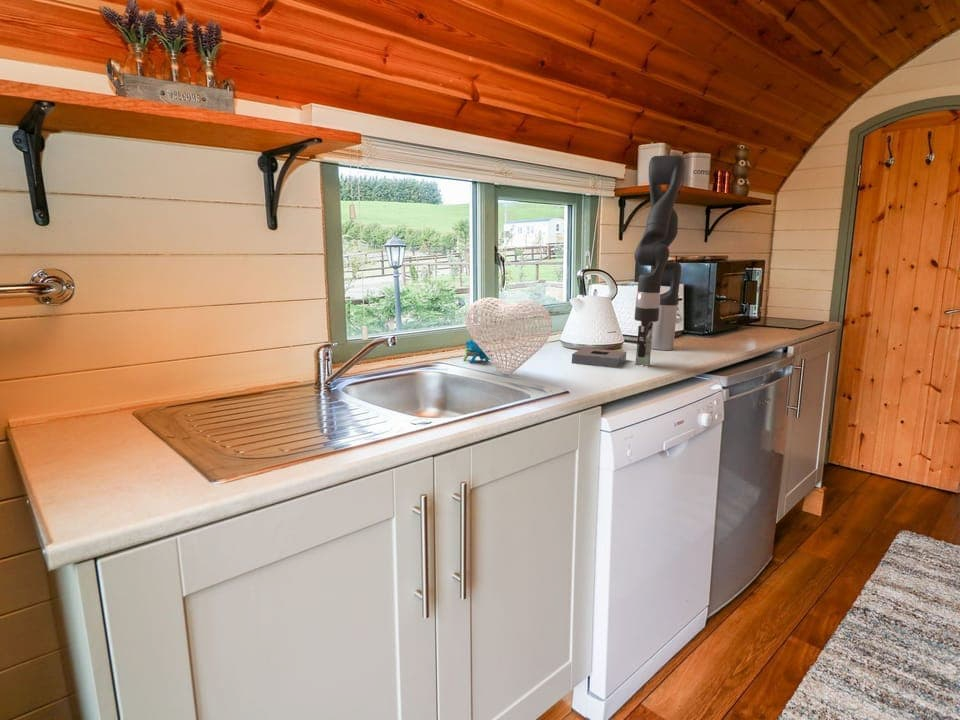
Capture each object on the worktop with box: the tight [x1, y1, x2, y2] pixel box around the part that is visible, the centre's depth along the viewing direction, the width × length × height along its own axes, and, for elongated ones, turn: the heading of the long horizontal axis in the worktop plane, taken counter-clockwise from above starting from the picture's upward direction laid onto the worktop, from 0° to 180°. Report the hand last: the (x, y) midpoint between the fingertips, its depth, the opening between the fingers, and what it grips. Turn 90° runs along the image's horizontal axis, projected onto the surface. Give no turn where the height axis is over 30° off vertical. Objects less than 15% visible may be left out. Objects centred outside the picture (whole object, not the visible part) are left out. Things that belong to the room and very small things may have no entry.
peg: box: [635, 340, 652, 367], centre depth 192 cm, size 4×4×8 cm
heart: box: [465, 296, 553, 375], centre depth 171 cm, size 28×16×22 cm, turn 47°
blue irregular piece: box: [463, 339, 493, 364], centre depth 189 cm, size 11×6×10 cm
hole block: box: [571, 347, 627, 369], centre depth 196 cm, size 15×15×3 cm
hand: (643, 355), depth 192 cm, fingers open, 8 cm apart
